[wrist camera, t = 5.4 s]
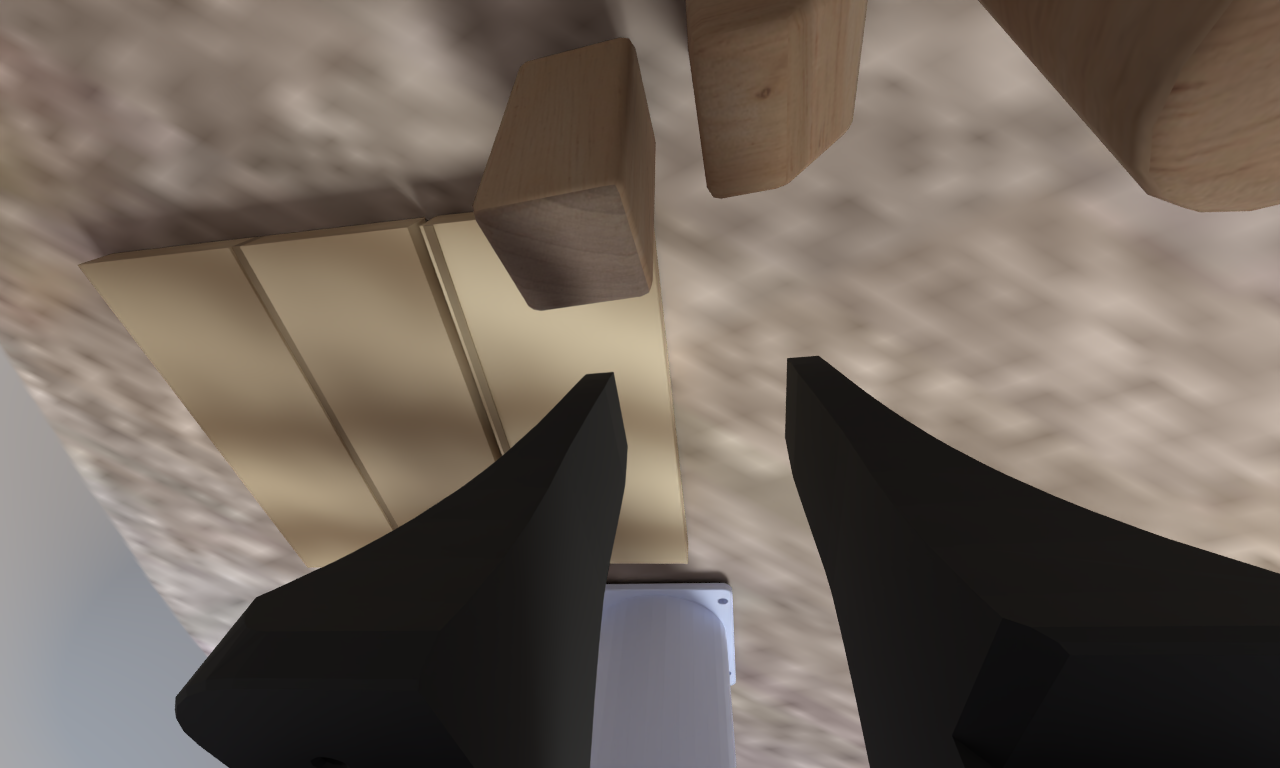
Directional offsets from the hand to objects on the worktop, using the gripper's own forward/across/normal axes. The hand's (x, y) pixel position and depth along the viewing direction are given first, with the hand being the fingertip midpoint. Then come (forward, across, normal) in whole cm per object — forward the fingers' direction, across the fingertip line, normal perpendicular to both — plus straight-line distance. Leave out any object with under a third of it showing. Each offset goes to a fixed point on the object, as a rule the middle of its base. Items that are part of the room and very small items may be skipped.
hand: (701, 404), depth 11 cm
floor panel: (+7, +15, +5) cm, 17 cm away
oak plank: (+7, +5, +5) cm, 10 cm away
